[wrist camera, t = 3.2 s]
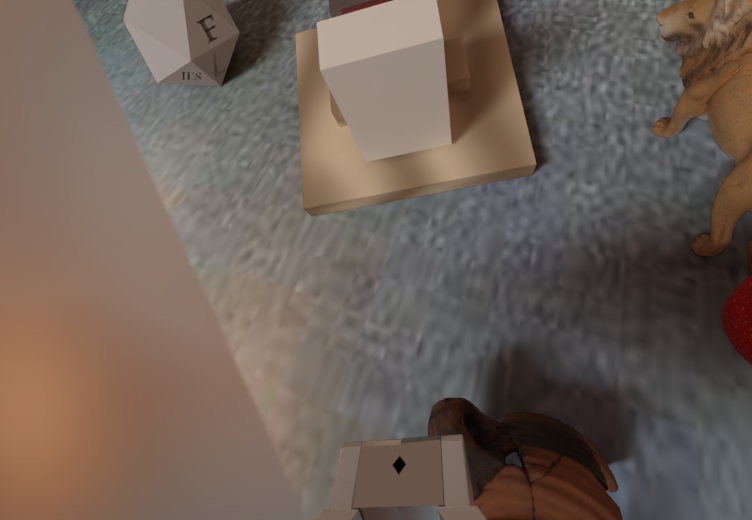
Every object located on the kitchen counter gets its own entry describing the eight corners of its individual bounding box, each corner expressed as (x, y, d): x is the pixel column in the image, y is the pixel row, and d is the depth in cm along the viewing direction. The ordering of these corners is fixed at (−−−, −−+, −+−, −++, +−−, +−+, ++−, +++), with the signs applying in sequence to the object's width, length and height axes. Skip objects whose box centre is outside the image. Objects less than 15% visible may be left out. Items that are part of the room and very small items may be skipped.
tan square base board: (490, -5, 31) (493, -49, 27) (532, 174, 26) (541, 147, 23) (302, 47, 34) (284, 13, 30) (311, 216, 29) (291, 197, 26)
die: (185, 125, 35) (181, 55, 27) (110, 51, 34) (80, -48, 25) (250, 82, 39) (265, 7, 30) (185, 13, 38) (180, -86, 29)
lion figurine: (606, 87, 27) (670, -43, 18) (689, 60, 26) (797, -89, 17) (708, 290, 22) (857, 243, 14) (813, 265, 21) (1040, 198, 13)
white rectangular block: (445, 106, 27) (434, -12, 18) (451, 144, 26) (443, 37, 18) (362, 125, 28) (316, 22, 20) (366, 162, 27) (319, 70, 19)
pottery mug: (661, 493, 21) (730, 684, 13) (523, 551, 25) (517, 721, 17) (498, 329, 22) (477, 420, 14) (391, 410, 26) (333, 514, 18)
